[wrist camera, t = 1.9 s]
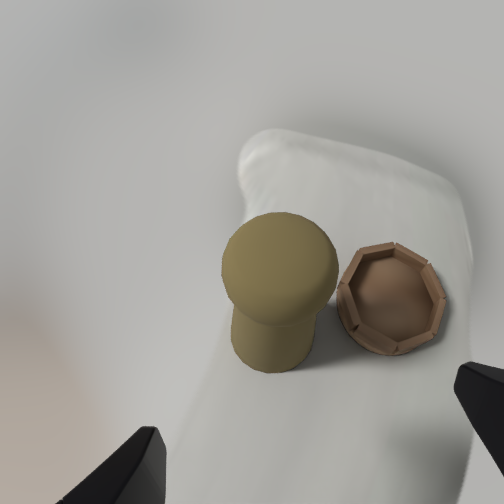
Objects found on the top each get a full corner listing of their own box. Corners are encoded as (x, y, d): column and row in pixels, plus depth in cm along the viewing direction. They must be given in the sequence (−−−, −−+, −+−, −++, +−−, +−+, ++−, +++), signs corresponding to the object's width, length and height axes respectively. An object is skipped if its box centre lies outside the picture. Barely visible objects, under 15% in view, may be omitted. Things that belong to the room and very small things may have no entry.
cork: (287, 282, 23) (303, 176, 14) (329, 347, 20) (385, 271, 11) (216, 317, 22) (185, 223, 13) (255, 388, 19) (250, 348, 10)
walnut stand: (446, 336, 20) (459, 327, 18) (355, 370, 19) (364, 364, 17) (409, 248, 25) (417, 236, 23) (322, 266, 24) (327, 253, 22)
